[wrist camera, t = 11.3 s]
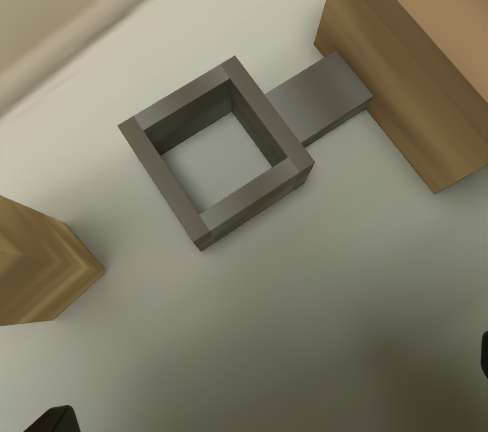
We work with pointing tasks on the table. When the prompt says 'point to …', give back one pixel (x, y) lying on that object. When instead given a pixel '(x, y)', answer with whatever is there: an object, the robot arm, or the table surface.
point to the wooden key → (40, 265)
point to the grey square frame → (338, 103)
